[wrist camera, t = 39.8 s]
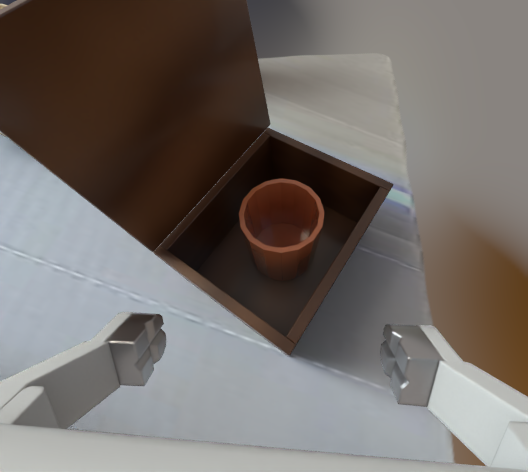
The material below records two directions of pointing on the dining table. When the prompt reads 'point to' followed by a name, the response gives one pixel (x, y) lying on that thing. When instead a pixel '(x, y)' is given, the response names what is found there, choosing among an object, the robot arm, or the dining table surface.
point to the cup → (281, 227)
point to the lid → (132, 100)
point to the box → (235, 249)
